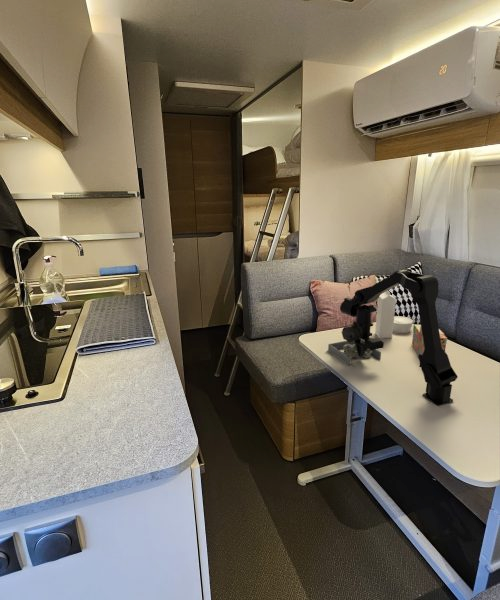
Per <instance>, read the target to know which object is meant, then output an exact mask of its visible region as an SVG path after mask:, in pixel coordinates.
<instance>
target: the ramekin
mask: <svg viewBox="0 0 500 600" xmlns="http://www.w3.org/2000/svg"><path fill="white" fill-rule="evenodd" d="M413 325H414V320H413V319H412V318H410V317H406V316H400V315H399V316H397V315H394V324H393V333H397V334H407V333H409V332H410V331H411V329H412V327H413Z"/></svg>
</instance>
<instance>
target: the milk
mask: <svg viewBox="0 0 500 600" xmlns="http://www.w3.org/2000/svg"><path fill="white" fill-rule="evenodd" d="M396 303H397V299H396V298H395V297H394V296H393V295H391V292H390V291H389V290H388V291H386V292H384V293H382V294H381V295H380V296H379V298H378V299H377V307H376V310H377V311H376V319H375V332H374V334H375V335H376V336H377V338H378V339H392V338H393V333H394V332H393V324H394V316H395V313H396V312H395V311H396Z"/></svg>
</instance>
